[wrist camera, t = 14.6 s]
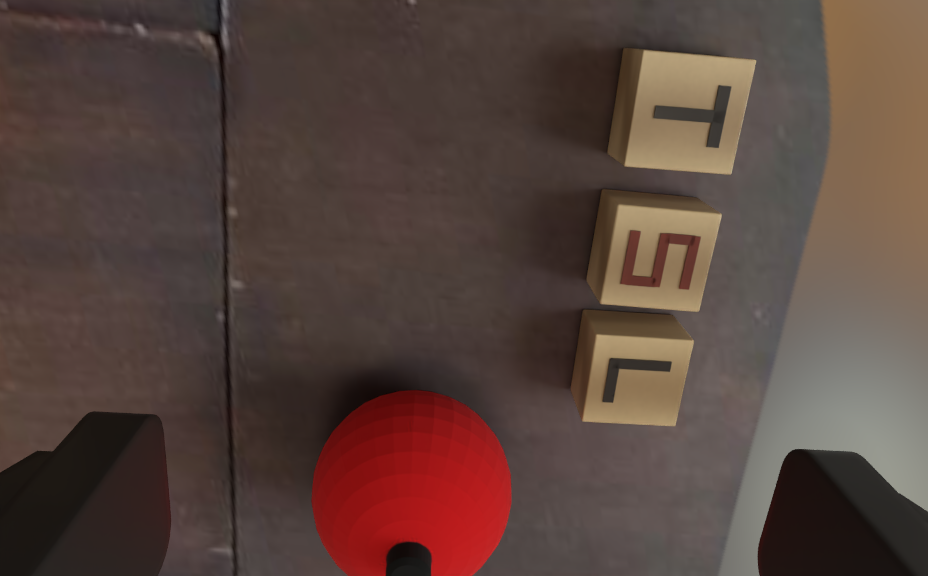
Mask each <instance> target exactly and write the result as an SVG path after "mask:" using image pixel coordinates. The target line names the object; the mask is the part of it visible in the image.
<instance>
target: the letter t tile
mask: <svg viewBox="0 0 928 576" xmlns="http://www.w3.org/2000/svg"><path fill="white" fill-rule="evenodd" d="M755 64H756V60H753V59H744V58H735V57H726V56H715V55H703V54H692V53H681V52H670V51H658V50H647V49H636V48H624V49H623V55H622V62H621V68H620V74H619V81H618V87H617V94H616V100H615V106H614V113H613V119H612V126H611V132H610V139H609V145H608V151H607V154H609V155H610V156H611V157H613V158H614V159H615V160H617V161H618V162H619V163H621V164H622V165H623V166H625V167H637V168H650V169H663V170H676V171H689V172H702V173H715V174H728V175H730V174H731V173H732V168H733V164H734V159H735V155H736V150H737V146H738V141H739V136H740V132H741V127H742V123H743V118H744V114H745V109H746V105H747V100H748V96H749V91H750V87H751V82H752V78H753V73H754V69H755Z"/></svg>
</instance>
